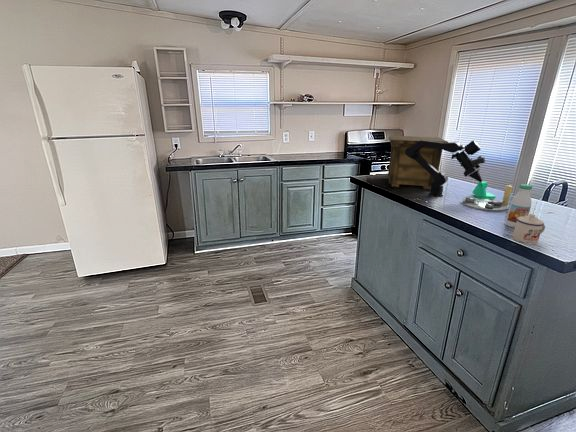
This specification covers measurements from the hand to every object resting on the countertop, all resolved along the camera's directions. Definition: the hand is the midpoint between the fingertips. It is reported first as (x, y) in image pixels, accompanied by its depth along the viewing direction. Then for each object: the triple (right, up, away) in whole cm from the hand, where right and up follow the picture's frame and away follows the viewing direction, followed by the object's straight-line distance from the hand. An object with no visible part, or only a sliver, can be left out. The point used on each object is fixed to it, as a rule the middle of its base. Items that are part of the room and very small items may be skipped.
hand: (481, 181), depth 176 cm
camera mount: (+11, -9, +15) cm, 20 cm away
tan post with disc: (+3, -14, -7) cm, 16 cm away
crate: (-23, +4, +48) cm, 53 cm away
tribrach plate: (+1, -14, -1) cm, 14 cm away
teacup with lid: (-11, -31, -48) cm, 58 cm away
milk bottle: (-5, -25, -32) cm, 41 cm away
